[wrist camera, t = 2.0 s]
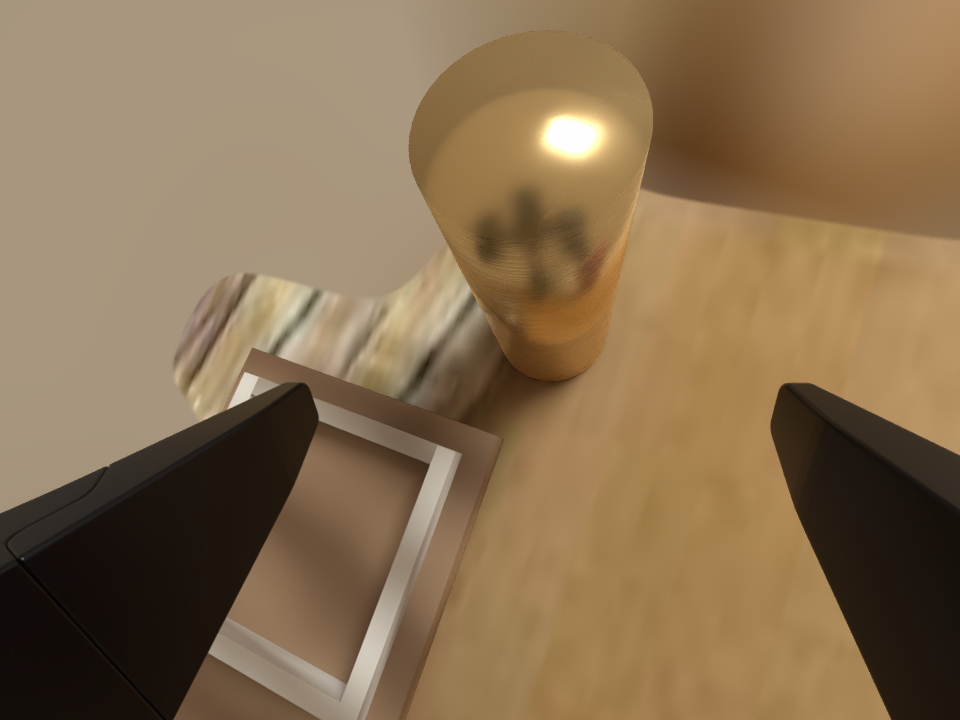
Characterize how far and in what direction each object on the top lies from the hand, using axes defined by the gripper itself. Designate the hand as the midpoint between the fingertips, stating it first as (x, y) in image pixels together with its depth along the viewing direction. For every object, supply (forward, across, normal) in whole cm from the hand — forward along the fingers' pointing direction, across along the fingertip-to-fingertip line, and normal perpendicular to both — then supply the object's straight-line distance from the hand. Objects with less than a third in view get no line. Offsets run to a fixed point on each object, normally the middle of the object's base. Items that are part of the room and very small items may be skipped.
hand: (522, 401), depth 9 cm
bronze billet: (+12, 0, +5) cm, 13 cm away
